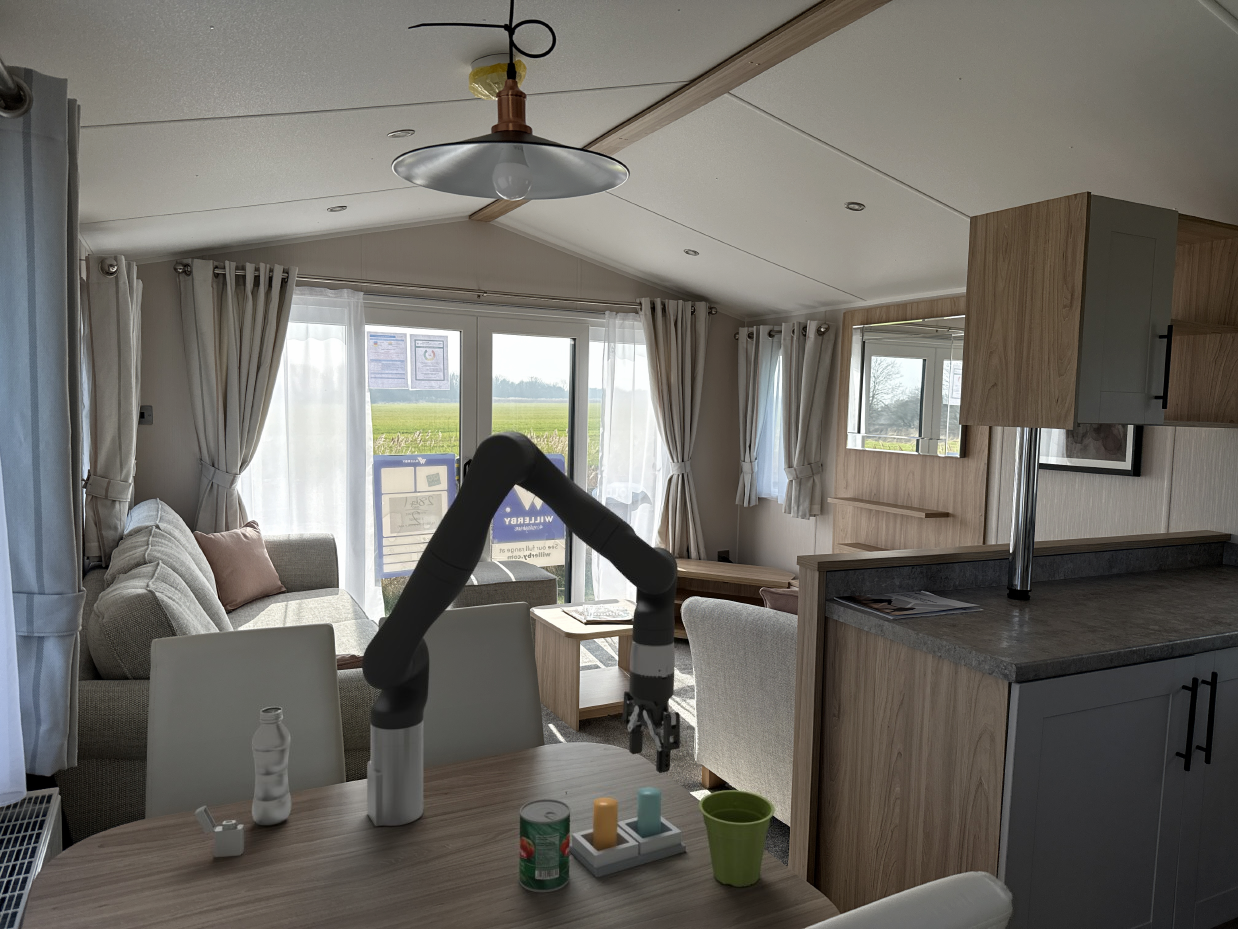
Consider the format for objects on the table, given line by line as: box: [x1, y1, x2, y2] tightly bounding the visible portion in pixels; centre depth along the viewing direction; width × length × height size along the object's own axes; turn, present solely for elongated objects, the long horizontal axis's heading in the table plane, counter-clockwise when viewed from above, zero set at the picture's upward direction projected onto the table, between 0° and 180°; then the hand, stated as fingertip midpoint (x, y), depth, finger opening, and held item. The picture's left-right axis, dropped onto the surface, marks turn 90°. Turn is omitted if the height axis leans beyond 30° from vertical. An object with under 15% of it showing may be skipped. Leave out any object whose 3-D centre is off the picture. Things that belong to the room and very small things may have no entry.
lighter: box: [194, 805, 245, 858], centre depth 135 cm, size 7×2×8 cm, turn 101°
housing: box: [570, 816, 687, 878], centre depth 138 cm, size 17×10×3 cm, turn 120°
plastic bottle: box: [251, 706, 293, 826], centre depth 147 cm, size 6×7×20 cm
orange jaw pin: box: [592, 797, 619, 851], centre depth 136 cm, size 4×4×8 cm
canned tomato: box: [518, 798, 571, 893], centre depth 129 cm, size 8×8×11 cm
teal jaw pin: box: [636, 786, 662, 839], centre depth 140 cm, size 4×4×8 cm
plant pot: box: [698, 789, 776, 888], centre depth 131 cm, size 12×12×11 cm
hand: (648, 762), depth 140 cm, fingers open, 8 cm apart
